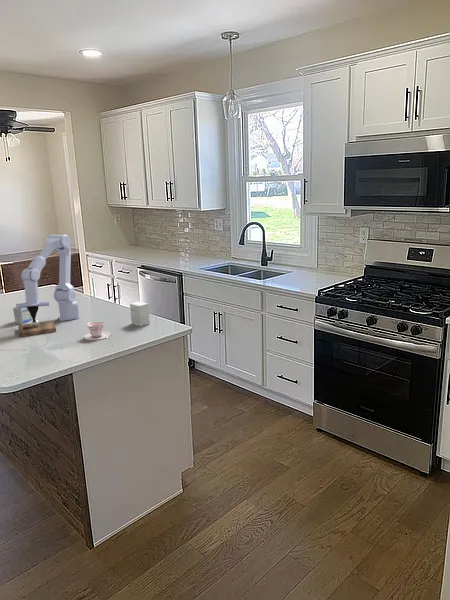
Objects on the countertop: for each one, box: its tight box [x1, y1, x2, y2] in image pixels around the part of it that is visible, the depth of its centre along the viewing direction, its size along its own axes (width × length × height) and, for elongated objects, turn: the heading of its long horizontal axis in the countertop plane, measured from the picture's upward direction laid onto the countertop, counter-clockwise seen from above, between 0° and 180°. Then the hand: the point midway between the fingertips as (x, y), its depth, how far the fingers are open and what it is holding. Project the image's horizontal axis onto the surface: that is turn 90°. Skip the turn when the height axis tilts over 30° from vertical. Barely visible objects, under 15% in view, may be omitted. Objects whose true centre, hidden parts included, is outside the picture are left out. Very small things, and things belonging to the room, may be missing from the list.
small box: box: [129, 301, 151, 327], centre depth 229 cm, size 8×6×10 cm
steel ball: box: [31, 319, 41, 327], centre depth 223 cm, size 4×4×4 cm
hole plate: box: [17, 320, 57, 338], centre depth 224 cm, size 16×14×2 cm
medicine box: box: [12, 306, 33, 325], centre depth 239 cm, size 8×4×9 cm, turn 168°
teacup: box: [83, 320, 111, 341], centre depth 212 cm, size 12×12×6 cm
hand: (34, 321), depth 222 cm, fingers closed, pressing on steel ball
